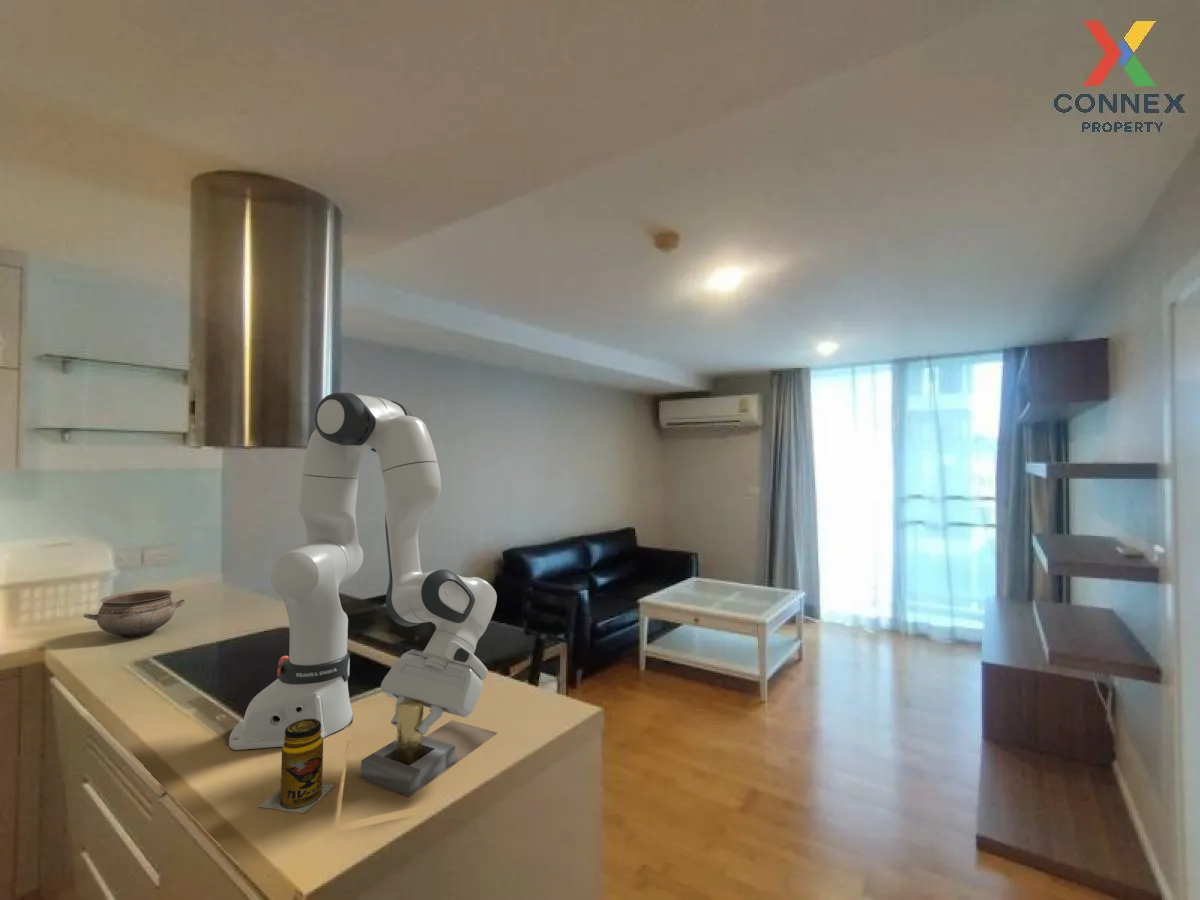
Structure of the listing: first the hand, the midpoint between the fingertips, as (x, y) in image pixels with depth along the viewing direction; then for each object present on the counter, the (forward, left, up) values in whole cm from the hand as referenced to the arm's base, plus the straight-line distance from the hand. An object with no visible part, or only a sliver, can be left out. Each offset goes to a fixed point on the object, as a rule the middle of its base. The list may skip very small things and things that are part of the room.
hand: (407, 729), depth 95 cm
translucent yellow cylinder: (0, 0, -6) cm, 6 cm away
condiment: (-17, 0, -9) cm, 19 cm away
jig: (+5, +4, -8) cm, 11 cm away
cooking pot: (-78, +113, -9) cm, 137 cm away
